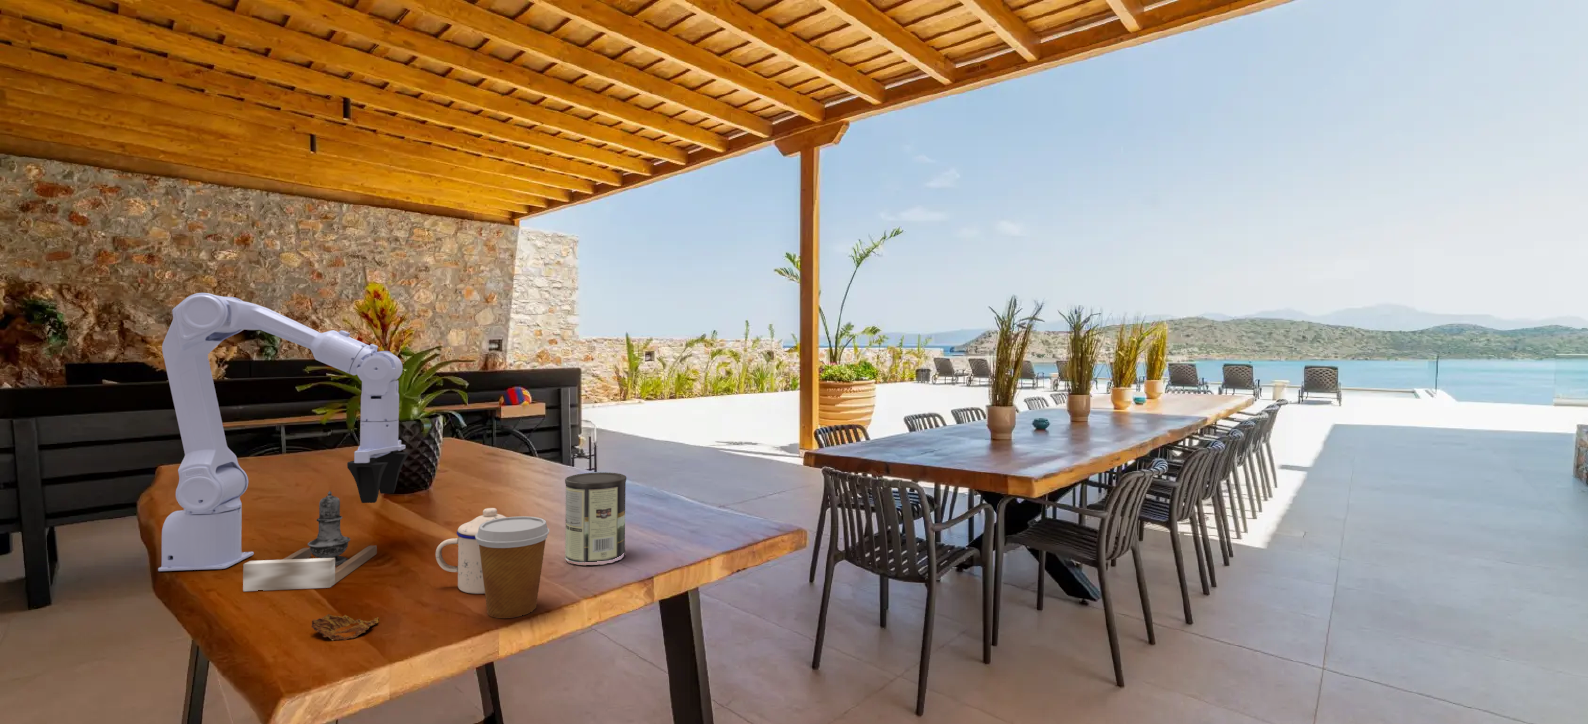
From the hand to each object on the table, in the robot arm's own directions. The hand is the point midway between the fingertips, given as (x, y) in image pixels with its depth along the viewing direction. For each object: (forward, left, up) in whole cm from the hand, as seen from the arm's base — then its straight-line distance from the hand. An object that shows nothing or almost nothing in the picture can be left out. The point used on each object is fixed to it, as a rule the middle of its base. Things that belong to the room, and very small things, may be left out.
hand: (378, 497), depth 119 cm
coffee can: (+38, -8, -10) cm, 40 cm away
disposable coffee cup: (+29, -31, -10) cm, 43 cm away
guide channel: (-5, -9, -10) cm, 14 cm away
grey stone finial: (-5, -5, -10) cm, 12 cm away
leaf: (+10, -35, -10) cm, 38 cm away
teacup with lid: (+22, -20, -10) cm, 31 cm away
